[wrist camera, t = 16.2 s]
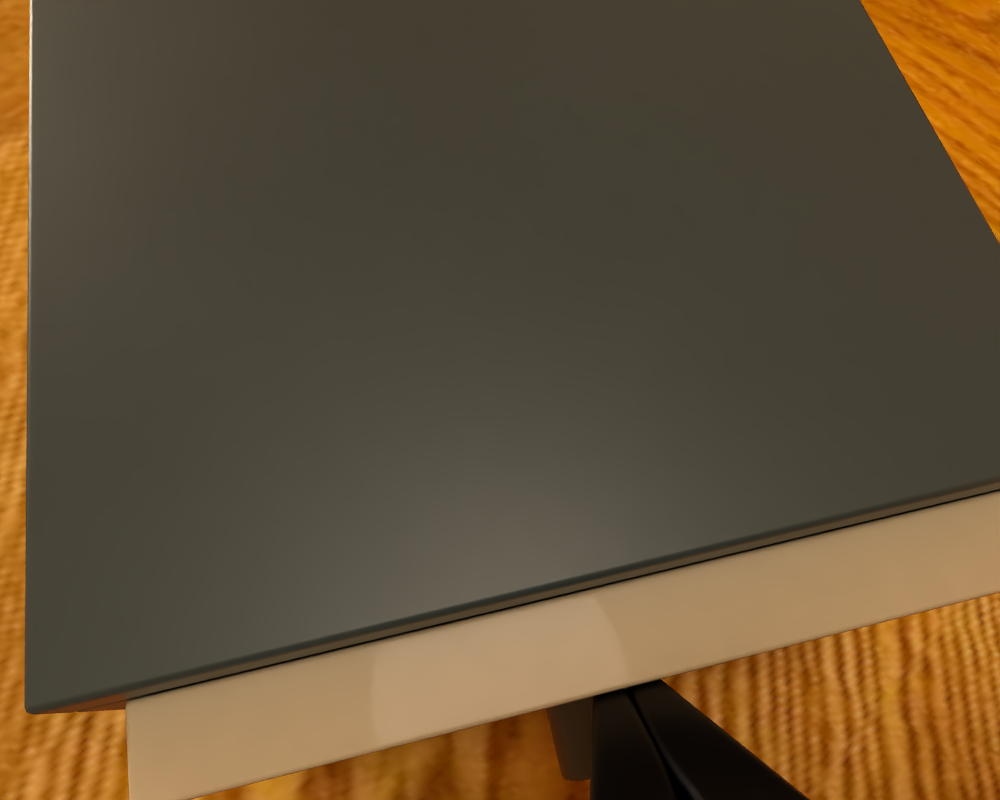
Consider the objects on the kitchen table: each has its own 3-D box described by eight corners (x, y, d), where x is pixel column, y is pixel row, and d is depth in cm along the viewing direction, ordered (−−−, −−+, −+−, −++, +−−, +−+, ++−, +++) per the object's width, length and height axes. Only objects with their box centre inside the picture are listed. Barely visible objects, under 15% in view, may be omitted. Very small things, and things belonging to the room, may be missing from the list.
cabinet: (816, 566, 17) (1123, 452, 9) (265, 701, 16) (19, 716, 7) (641, 114, 22) (731, -230, 14) (211, 190, 21) (27, -138, 12)
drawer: (852, 679, 15) (1121, 673, 9) (296, 826, 14) (131, 943, 8) (652, 159, 20) (729, -90, 14) (229, 236, 19) (95, 4, 12)
